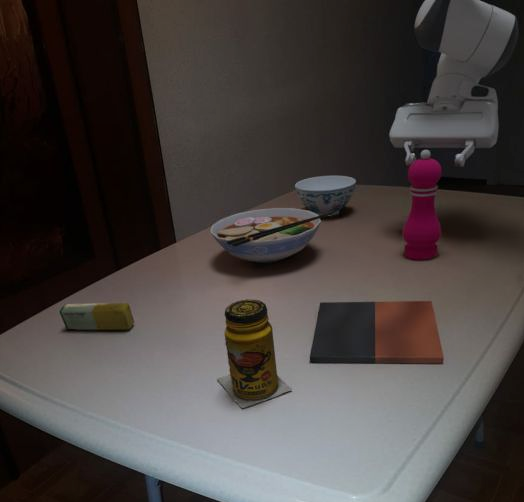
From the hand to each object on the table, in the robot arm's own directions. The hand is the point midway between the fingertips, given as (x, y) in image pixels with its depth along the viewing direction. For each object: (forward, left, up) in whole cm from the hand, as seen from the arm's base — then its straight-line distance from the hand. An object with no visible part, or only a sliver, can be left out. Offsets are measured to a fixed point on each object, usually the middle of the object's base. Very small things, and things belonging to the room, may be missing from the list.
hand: (433, 164), depth 107 cm
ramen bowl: (+33, +4, -16) cm, 37 cm away
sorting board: (+11, +38, -16) cm, 43 cm away
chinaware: (+23, -27, -16) cm, 39 cm away
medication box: (+57, +36, -16) cm, 70 cm away
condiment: (+27, +53, -16) cm, 62 cm away
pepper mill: (+2, +5, -16) cm, 17 cm away
